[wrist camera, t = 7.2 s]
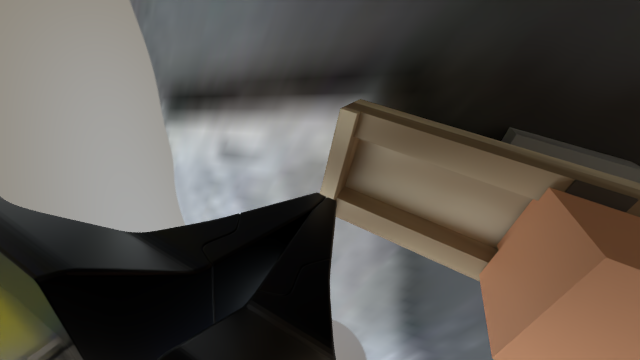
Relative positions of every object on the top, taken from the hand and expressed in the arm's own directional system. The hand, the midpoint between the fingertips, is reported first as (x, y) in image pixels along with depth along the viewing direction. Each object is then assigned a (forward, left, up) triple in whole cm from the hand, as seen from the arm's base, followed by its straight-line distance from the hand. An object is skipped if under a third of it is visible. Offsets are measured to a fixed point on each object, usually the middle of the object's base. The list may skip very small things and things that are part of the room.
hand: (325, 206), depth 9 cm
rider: (0, -9, -5) cm, 10 cm away
